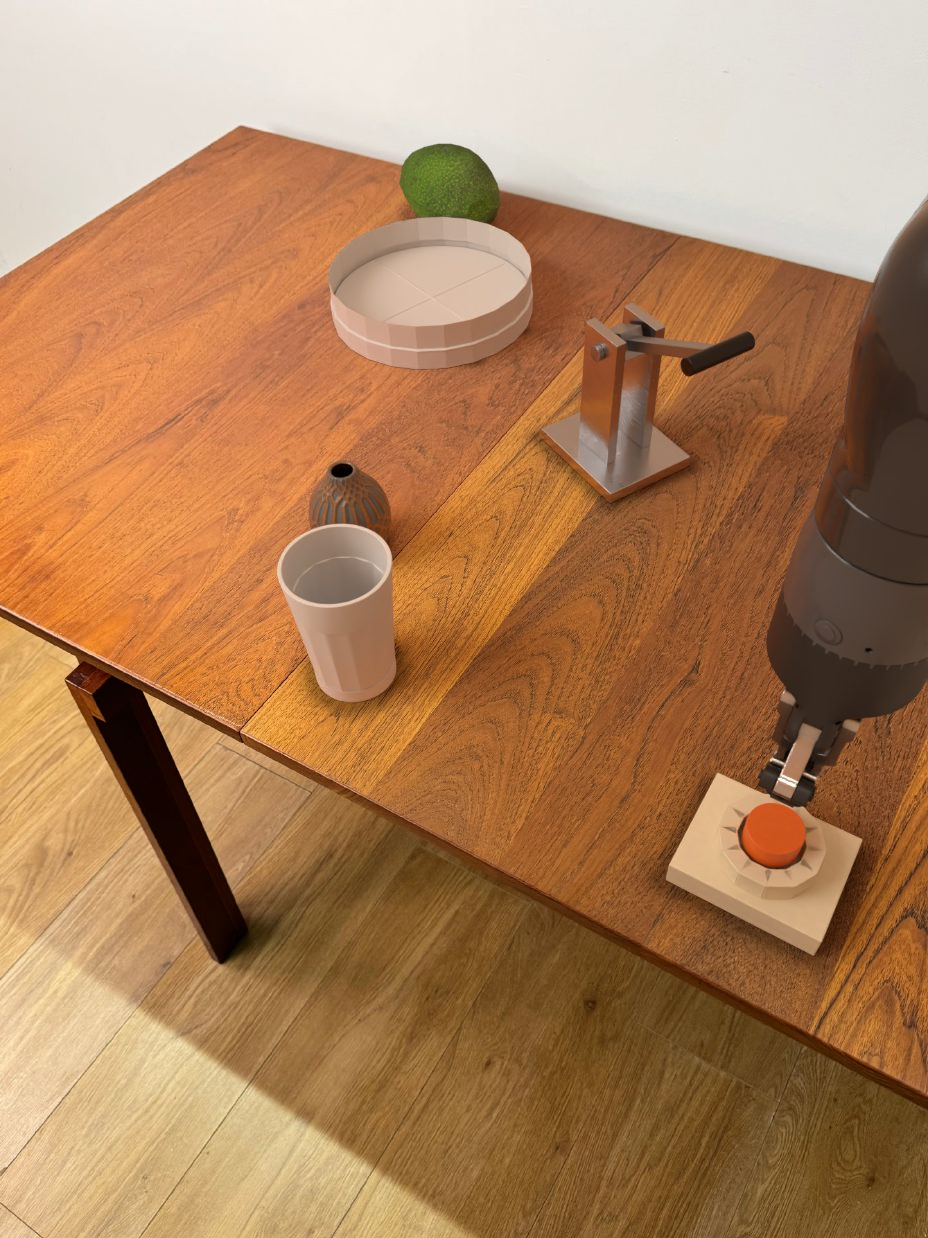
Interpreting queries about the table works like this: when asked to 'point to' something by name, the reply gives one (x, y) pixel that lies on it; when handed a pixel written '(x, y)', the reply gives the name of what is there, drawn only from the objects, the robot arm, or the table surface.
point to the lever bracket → (617, 415)
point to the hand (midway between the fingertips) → (786, 791)
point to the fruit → (450, 184)
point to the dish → (431, 292)
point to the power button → (773, 835)
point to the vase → (350, 500)
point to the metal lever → (683, 348)
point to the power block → (763, 867)
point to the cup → (343, 607)
